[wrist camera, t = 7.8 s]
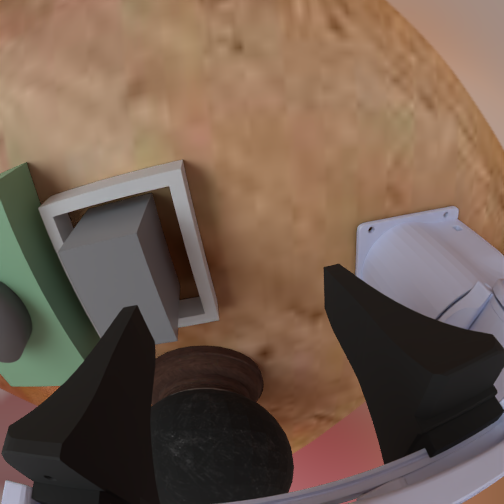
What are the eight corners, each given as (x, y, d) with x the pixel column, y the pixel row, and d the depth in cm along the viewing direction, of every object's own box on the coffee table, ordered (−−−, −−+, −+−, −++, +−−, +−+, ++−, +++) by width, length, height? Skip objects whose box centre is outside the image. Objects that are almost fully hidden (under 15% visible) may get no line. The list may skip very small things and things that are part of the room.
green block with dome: (173, 115, 16) (159, 131, 11) (224, 328, 25) (232, 389, 20) (-58, 204, 15) (-103, 241, 10) (23, 354, 24) (5, 403, 19)
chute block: (152, 192, 19) (136, 232, 14) (180, 284, 22) (177, 340, 18) (88, 208, 18) (57, 252, 14) (123, 295, 22) (109, 350, 17)
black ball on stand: (292, 392, 31) (330, 525, 18) (185, 429, 32) (194, 549, 20) (230, 313, 24) (263, 511, 11) (104, 368, 26) (83, 524, 13)
